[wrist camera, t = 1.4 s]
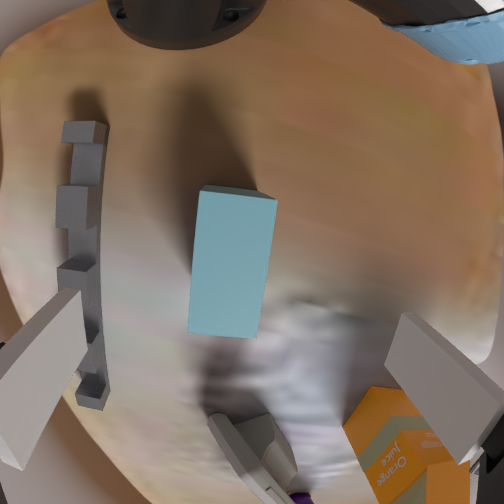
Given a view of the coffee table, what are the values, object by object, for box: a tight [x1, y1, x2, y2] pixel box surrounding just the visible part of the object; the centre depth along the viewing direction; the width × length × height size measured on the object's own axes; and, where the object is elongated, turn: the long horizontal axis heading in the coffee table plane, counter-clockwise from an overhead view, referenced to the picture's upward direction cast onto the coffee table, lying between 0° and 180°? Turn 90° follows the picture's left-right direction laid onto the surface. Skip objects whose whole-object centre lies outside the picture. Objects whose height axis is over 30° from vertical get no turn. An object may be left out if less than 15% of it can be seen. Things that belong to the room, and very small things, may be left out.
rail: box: [56, 121, 110, 411], centre depth 25 cm, size 28×3×4 cm, turn 172°
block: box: [188, 185, 278, 338], centre depth 23 cm, size 9×4×9 cm, turn 172°
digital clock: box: [207, 413, 298, 504], centre depth 29 cm, size 16×9×11 cm, turn 11°
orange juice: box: [343, 386, 470, 504], centre depth 26 cm, size 8×9×20 cm
